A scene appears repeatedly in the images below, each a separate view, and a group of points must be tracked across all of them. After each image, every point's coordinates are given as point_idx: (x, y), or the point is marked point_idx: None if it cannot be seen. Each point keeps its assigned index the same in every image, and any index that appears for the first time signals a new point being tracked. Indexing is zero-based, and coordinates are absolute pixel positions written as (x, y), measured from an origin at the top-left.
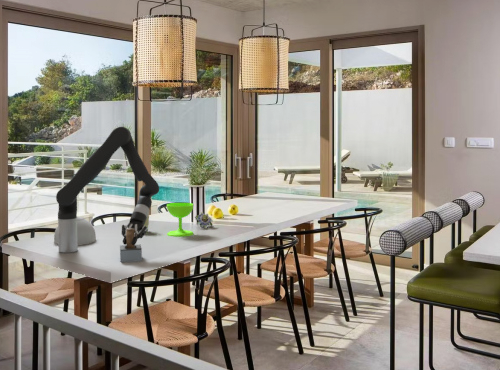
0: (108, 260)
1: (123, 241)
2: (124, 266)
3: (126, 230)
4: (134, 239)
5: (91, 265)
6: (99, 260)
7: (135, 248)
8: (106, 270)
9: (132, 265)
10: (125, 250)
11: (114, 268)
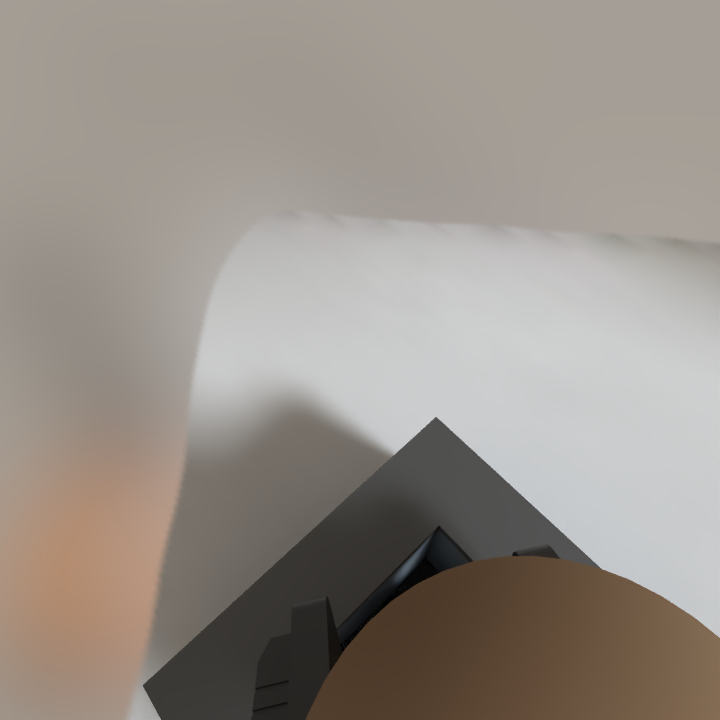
0: (612, 468)
1: (546, 551)
2: (264, 362)
3: (598, 582)
4: (292, 715)
5: (559, 254)
6: (694, 418)
7: (268, 636)
8: (320, 215)
9: (211, 428)
10: (377, 476)
11: (303, 277)
